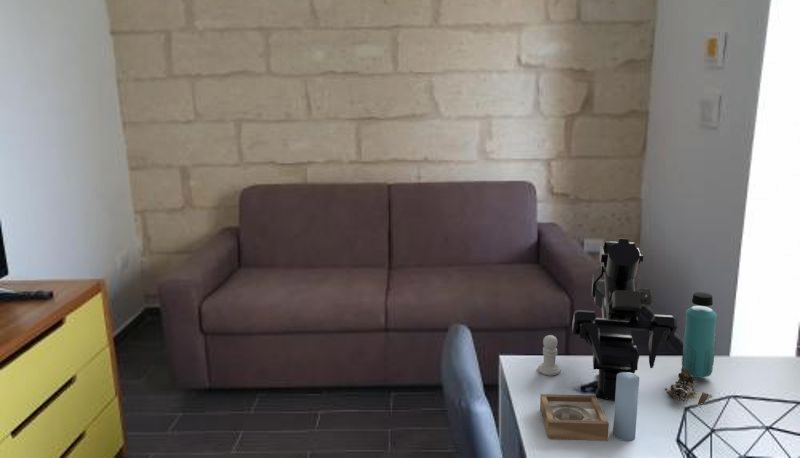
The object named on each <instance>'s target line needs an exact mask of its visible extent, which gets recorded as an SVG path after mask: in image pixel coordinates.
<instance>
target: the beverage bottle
mask: <svg viewBox="0 0 800 458" xmlns="http://www.w3.org/2000/svg"><path fill="white" fill-rule="evenodd" d="M691 299H692V300H691V302H692V304H693V306H691V307H690V308H688V309H687V310H686V311H685V326H684V335H683V341H682V350H681V351H682V353H681V354H682V356H681V365H680V366H681V368H684V369H687V370H688V371H689V372H690V375H691V376H692V377H696V378H697V377H698V378H708V377H710V376H711V375H712V373H713V369H714V363H715V362H714V361H715V348H716V330H717V328H716V327H717V317H718V314H717V313H716V312H715V310H713V309H712V308H711V306H713V303H714V301H713V295H712V294H711V293H707V292H703V291H702V292H701V291H700V292H698V291H697V292H694V293H693V295H692V298H691Z"/></svg>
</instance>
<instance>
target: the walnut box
mask: <svg viewBox="0 0 800 458" xmlns="http://www.w3.org/2000/svg"><path fill="white" fill-rule="evenodd" d="M539 402H540V404H539V410H540V415H541V417H542V421H543V425H544V429H545V432H546V436H547V438H548V440H572V441H573V440H574V441H575V440H576V441H603V442H604V441H605V442H607V441H609V426H610V424H609V421H608V418H607V417H606V414H605V413H604V411H603V408H602V405H600V402H599V400H598V399H597V397H596V396H595V395H592V394H591V395H590V394H556V393H555V394H553V393H540V401H539Z"/></svg>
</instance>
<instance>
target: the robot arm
mask: <svg viewBox="0 0 800 458" xmlns="http://www.w3.org/2000/svg"><path fill="white" fill-rule="evenodd" d="M643 261H644V254H642V253H641V251H640V248H639V247H636V243H635V242H634V241H633V242H632V241H630V239H629V238H618V241H612V240H611V241H610V240H609V241H607V240H605V241H603V244H602V245H600V247H599V263H600V266H599V267H598V268H596V270H595V271H594V272H593V274H592V282H591V298H594V299H593V300H594V306H597V308H599V309H600V310H601V315H602V316H601V317H596V311H595V310H589V309H588V310H587V309H586V310H584V309H577V310H575V311H574V313H573V318H572V326H571V327H572V328H571V329H572V334H573V335H575V336H578V338H579V339H582V340H584V341H585V342H586V344H587V345H588V347H589V348H590V349H591V352H592V369H593V370H598V381H597V383H598V390H596V389H595V393H594V394H595V396H596V398H598V399H604V400H611V401H615V393H616V377H617V374H618V373H622V372H627V373H632V374H635V373H636V371H638V366H639V365H638V364H639V360H640V352H639V351H638V348H637V345H634V339H633V336H632V335H633V334H632V331H637V332H638V331H639V332H641V331H642V332H648V335H649V340H648V364H649V367H650V369H653V368H654V365H655V361H656V359H657V353H658V350H659V346H660V345H665V343H666V342H669V341H672V339H673V337H674V335H675V333H676V331H677V330H678V329H677V328H678V322H677V318H675V317H674V315H669V314H655V313H654V314H653V315H652V318H651V320H641V319H640V320H639V319H638V317H641V313H642V312H641V310H642V307H650V306H651V305H652V303H653V301H652V291H651V288H646V287H645V288H644V287H642V288H641V287H640V289H639V290H637V291H636V288H635V278H636V275H637V272H638V267H639V265H640V264H641V263H643ZM603 276H604V279H601V278H602V277H603Z"/></svg>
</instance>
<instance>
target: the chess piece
mask: <svg viewBox="0 0 800 458" xmlns="http://www.w3.org/2000/svg"><path fill="white" fill-rule="evenodd" d="M542 340H543V341H542V344H543V347H542V354H543V362H542V363H541V364H539V365H538V366H537V371H538V372H539V373H540V374H542V375H544V376H549V377H550V376H557V375H559V374H561V372H562V369H561V367H560V365H557V363H556V357H557V355H558V348H557V347H558V339H557V337H556V336H554V335H553V334H550V335H549V334H548V335H546V336H544V337H543V339H542Z"/></svg>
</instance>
